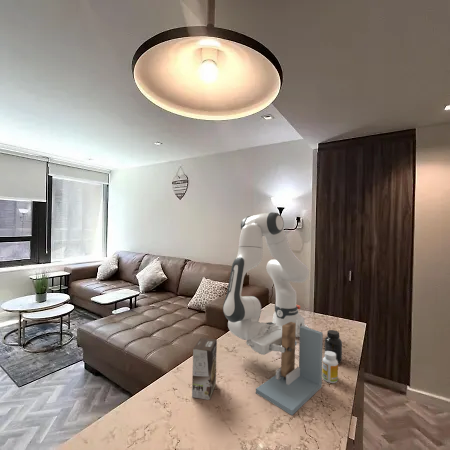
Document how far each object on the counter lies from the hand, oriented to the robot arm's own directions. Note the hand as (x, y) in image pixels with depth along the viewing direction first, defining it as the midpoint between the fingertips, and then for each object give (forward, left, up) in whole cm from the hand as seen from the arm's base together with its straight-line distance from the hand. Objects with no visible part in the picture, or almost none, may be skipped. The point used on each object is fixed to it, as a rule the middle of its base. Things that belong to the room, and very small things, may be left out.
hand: (290, 346), depth 92 cm
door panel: (0, -1, -10) cm, 10 cm away
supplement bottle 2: (-13, +9, -13) cm, 21 cm away
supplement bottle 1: (-28, +4, -13) cm, 31 cm away
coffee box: (+26, -18, -13) cm, 34 cm away
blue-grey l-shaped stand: (+4, +2, -13) cm, 14 cm away
